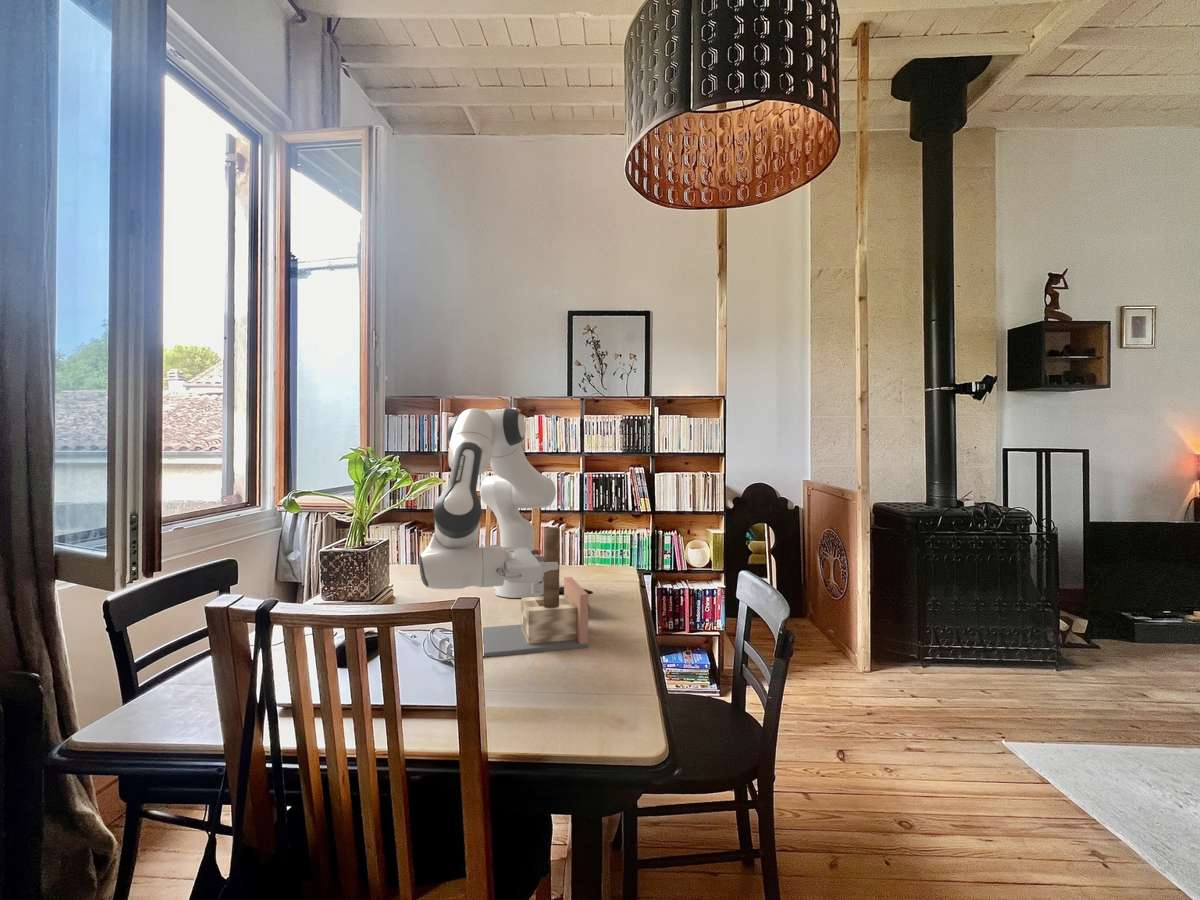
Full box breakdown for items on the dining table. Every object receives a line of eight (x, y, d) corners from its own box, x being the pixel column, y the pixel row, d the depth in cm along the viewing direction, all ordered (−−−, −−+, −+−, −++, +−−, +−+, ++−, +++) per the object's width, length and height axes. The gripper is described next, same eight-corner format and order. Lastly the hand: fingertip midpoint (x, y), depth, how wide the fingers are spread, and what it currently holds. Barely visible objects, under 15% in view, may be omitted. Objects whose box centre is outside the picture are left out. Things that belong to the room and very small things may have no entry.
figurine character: (549, 612, 172) (575, 619, 159) (548, 586, 172) (574, 592, 160) (568, 608, 175) (595, 615, 163) (567, 583, 176) (594, 588, 163)
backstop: (475, 658, 131) (475, 602, 131) (470, 632, 148) (470, 582, 148) (587, 647, 139) (588, 594, 138) (570, 624, 156) (571, 577, 156)
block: (528, 643, 138) (528, 611, 137) (521, 628, 149) (521, 597, 149) (576, 639, 141) (576, 607, 141) (565, 624, 153) (566, 594, 152)
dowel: (549, 602, 134) (549, 526, 133) (562, 604, 132) (562, 528, 131) (540, 606, 130) (540, 528, 130) (553, 609, 129) (554, 530, 128)
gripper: (500, 562, 117) (565, 558, 121) (490, 543, 137) (547, 541, 141) (500, 592, 117) (565, 588, 121) (490, 569, 137) (546, 566, 141)
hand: (555, 562), depth 131 cm, fingers closed on dowel, 4 cm apart
